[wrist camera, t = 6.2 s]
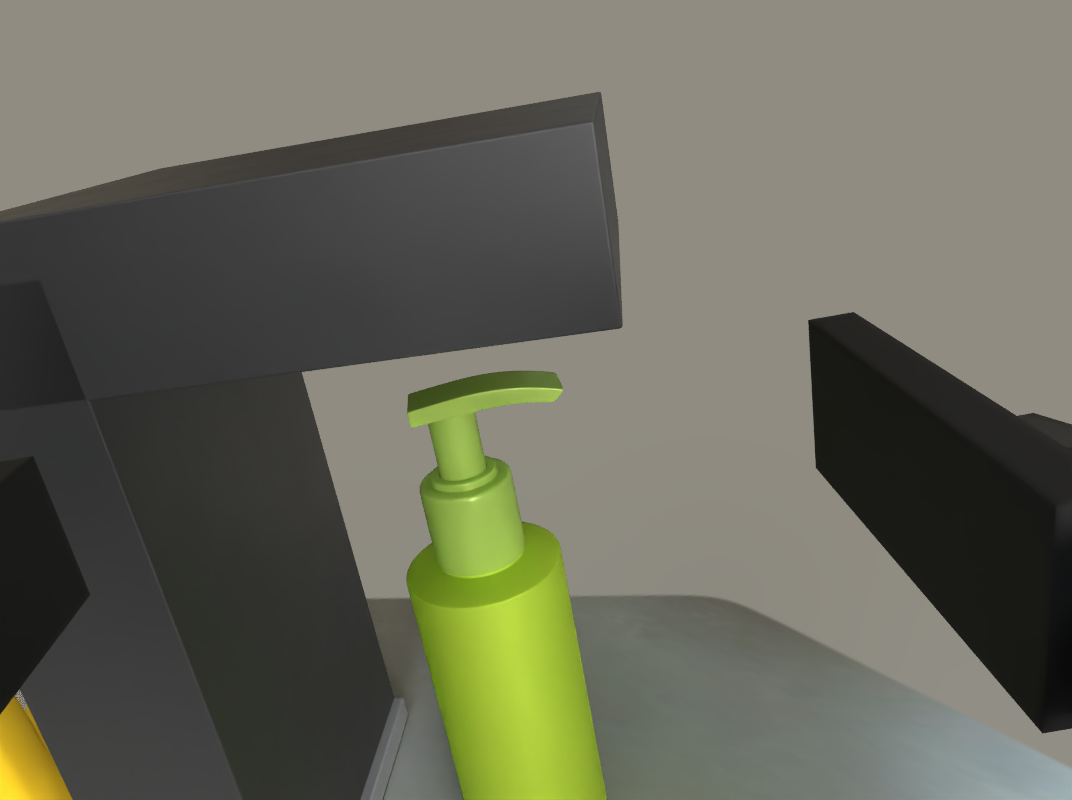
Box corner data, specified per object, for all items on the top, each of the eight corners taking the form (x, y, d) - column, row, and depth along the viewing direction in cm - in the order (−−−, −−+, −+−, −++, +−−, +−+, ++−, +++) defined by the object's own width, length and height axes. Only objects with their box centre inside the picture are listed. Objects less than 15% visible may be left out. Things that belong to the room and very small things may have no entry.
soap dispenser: (647, 855, 35) (570, 396, 27) (477, 895, 34) (355, 440, 27) (617, 750, 40) (546, 343, 33) (470, 783, 40) (366, 379, 32)
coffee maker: (680, 693, 43) (600, 91, 33) (711, 972, 30) (594, 120, 20) (263, 726, 46) (69, 184, 36) (126, 993, 33) (-240, 262, 23)
